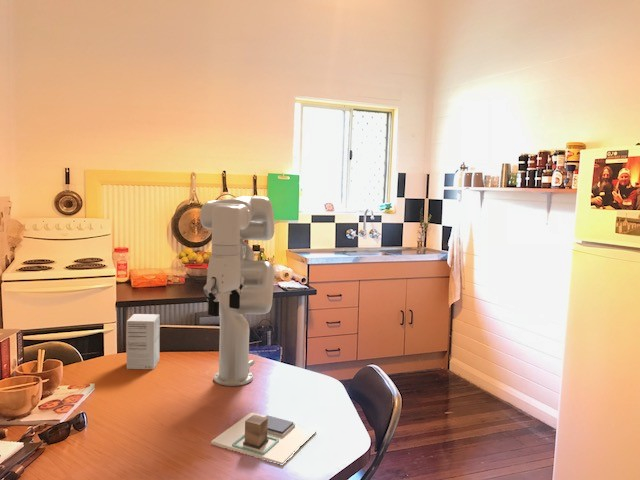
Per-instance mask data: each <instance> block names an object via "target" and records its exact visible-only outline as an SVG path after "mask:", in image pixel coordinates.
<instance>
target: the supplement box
mask: <svg viewBox="0 0 640 480" xmlns="http://www.w3.org/2000/svg"><path fill="white" fill-rule="evenodd" d="M160 318H161V317H160V314H159V313H158V314H157V313H156V314H155V313H152V314H151V313H134V314H132V315H131V316H130V317H129V318H128V319H127V320H126V322H125V324H126V327H125V328H126V370H154V369H155V368H156V366H157V364H158V363H159V361H160V333H161V332H160V331H161V330H160V325H161V324H160V323H161V322H160V321H161V320H160Z"/></svg>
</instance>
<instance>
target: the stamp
mask: <svg viewBox="0 0 640 480" xmlns="http://www.w3.org/2000/svg"><path fill="white" fill-rule="evenodd" d="M267 428H268V418H266V417H262V416H258V415H253V416H251V417H250V418H249V419H247V420H246V421H245V441H244V442H243V445H245V446H249V447H252V448H256V449H260V448H261V447H262V446H263V445H265V444H266V443H267V442H268V440H269V439H268V438H267Z"/></svg>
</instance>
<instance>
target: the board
mask: <svg viewBox="0 0 640 480" xmlns="http://www.w3.org/2000/svg"><path fill="white" fill-rule="evenodd" d="M253 415H258V416H262V417H266V418H268V428H267V438H268V439H269V440H268V442H267V443H266V444H265V445H263V446H262V447H261V448H260V449H256V448H252V447H249V446H245V445H243V442H244V441H245V421H246V420H247V419H249V418H250V417H251V416H253ZM296 424H297V423H294V421H290V420H287V419H283V418H279V417H276V416H271V415H262V414H260V413H259V414H258V413H256V412H253V411H252V412H250V413H248V414H247V415H245V416H244V417H242V418H241V419H240V420H238V421H237V422H236V423H234V424H233V425H231V427H228V428H227V429H225V430H224V431H223V432H221V433H220V434H219V435H218V436H216V437H215V438H214V439H212V440H211V442H210V444H211V445H212V446H216V447H219V448H222V449H225V448H227V449H226V450H228V451H232V450H233V452H235V451H237V452H236V453H238V452H240V454H242V453H244V454H243V455H245V454H247V455H246V456H248V455H251V456H254V457H253V458H255V457H257V458H256V459H258V458H261V459H265V460H268V461H272V462H276V463H279V464H283V463H284V462H285V461H286V460H287V459H288V458H289V457H290V456H291V455H292V454H293V452H295V450H296V449H297V448H298V447H299V446H300V445H301V444H302V443H303V442H304V441H305V440H306V439H304V438H305V436H306V437H307V438H308V437H309V436H308V435H305V434H306V433H303V434H300V432H301V433H302V432H304V431H306V430H303V431H299V430H300V429H302V428H303V427H302V428H298V429H295V428H297V426H295V425H296ZM299 427H300V426H299ZM293 429H295V430H293ZM297 431H299V432H297ZM301 435H305V436H301ZM297 436H298V437H297ZM300 438H302V440H300ZM294 440H295V441H294ZM300 441H301V442H300ZM251 456H250V457H251ZM261 459H260V460H261ZM268 461H267V462H268Z"/></svg>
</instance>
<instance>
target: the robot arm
mask: <svg viewBox="0 0 640 480" xmlns="http://www.w3.org/2000/svg"><path fill="white" fill-rule="evenodd" d="M274 216H275V215H274V208H273V203H272V201H271V199H270V198H268V197H266V196H256V195H255V196H254V195H253V196H251V195H249V196H248V195H239V196H236V197H234V198H227V199H226V198H225V199H219V200H218V199H216V200H210V201H207V202H204V204H203V205H202V206H201V208H200V211H199V221H200V224H201V226H202V227H203V228H204V229H207V230H211V254H210V256H209V260H208V266H207V275H206V284H205V285H204V286H203V292H204V297H205V298H206V301H207V315H208V316H210V317H211V316H212V317H219V343H218V344H219V346H218V347H219V348H218V353H219V357H218V371H217V372H215V373H214V375H213V381H214V382H215V383H216V384H218V385H221V386H226V387H227V386H228V387H236V386H239V387H240V386H243V385H246V384H248V383H250V382H252V381H253V379H254V375H253V373H252V372H251V371H250V368H251V367H253V366H255V364H256V363H255V361H254V359H249V355H250V352H249V351H250V324H249V322H248V320H247V319H246V318H245V316H244V315H265V314H267V313H269V312H271V309H272V306H273V299H274V297H273V296H274V285H275V269H274V266H273V263H271V262H269V261H266V260H255V252H254V250H253V249H252V248H251V246H250V245H249V244H248V243H247V242H245V241H262V242H263V241H264V242H265V241H270V240H271V239H272V238H273V237H274V235H275V218H274ZM214 294H215V295H214Z"/></svg>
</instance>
